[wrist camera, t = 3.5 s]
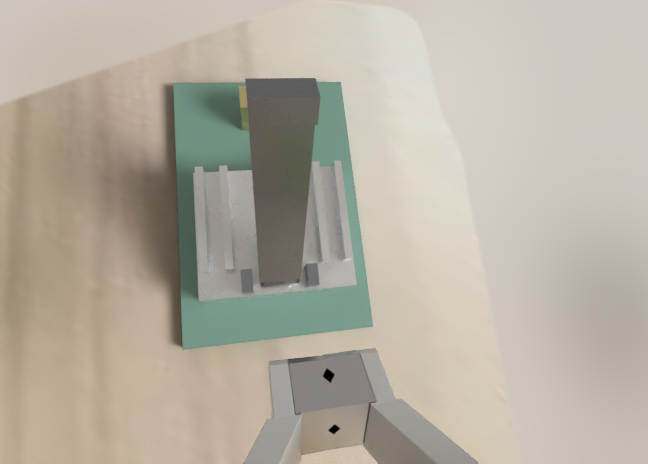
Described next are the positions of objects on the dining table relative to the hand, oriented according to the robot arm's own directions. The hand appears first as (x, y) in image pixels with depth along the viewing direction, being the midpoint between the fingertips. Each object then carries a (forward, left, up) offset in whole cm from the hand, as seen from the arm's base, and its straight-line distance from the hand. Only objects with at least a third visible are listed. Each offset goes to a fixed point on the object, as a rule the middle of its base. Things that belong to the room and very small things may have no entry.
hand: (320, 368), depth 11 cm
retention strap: (-4, +7, -11) cm, 14 cm away
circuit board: (-6, +10, -24) cm, 27 cm away
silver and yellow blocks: (-6, +10, -23) cm, 26 cm away
